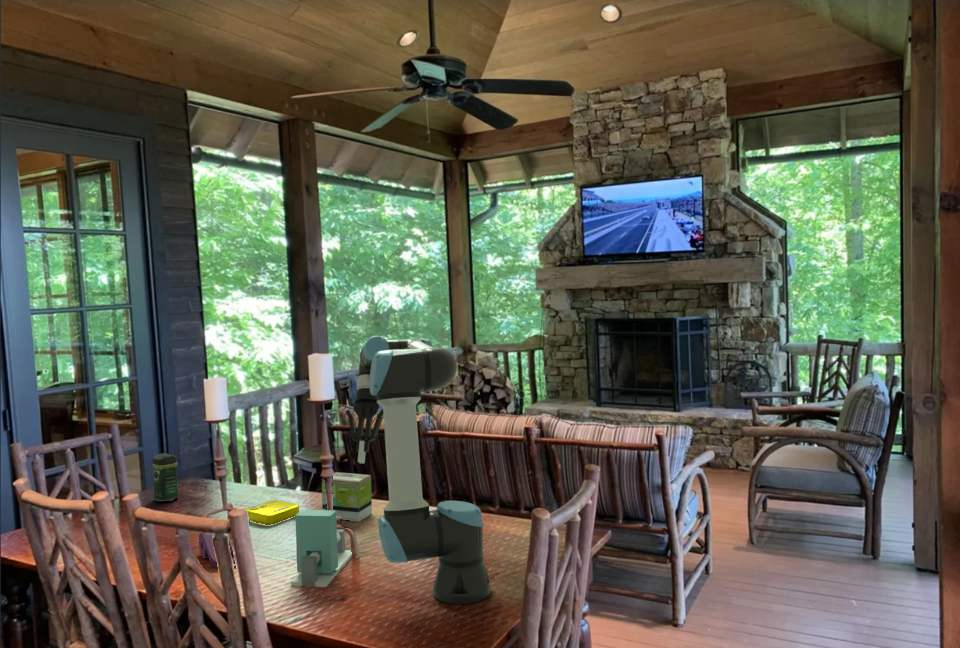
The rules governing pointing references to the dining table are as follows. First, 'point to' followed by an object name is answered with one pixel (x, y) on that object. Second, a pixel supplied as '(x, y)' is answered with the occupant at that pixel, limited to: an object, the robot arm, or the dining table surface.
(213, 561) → the mounting bracket
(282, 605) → the dining table surface
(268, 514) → the element tile
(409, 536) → the robot arm
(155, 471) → the coffee jar
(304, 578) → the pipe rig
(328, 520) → the sleeve
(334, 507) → the tea box
